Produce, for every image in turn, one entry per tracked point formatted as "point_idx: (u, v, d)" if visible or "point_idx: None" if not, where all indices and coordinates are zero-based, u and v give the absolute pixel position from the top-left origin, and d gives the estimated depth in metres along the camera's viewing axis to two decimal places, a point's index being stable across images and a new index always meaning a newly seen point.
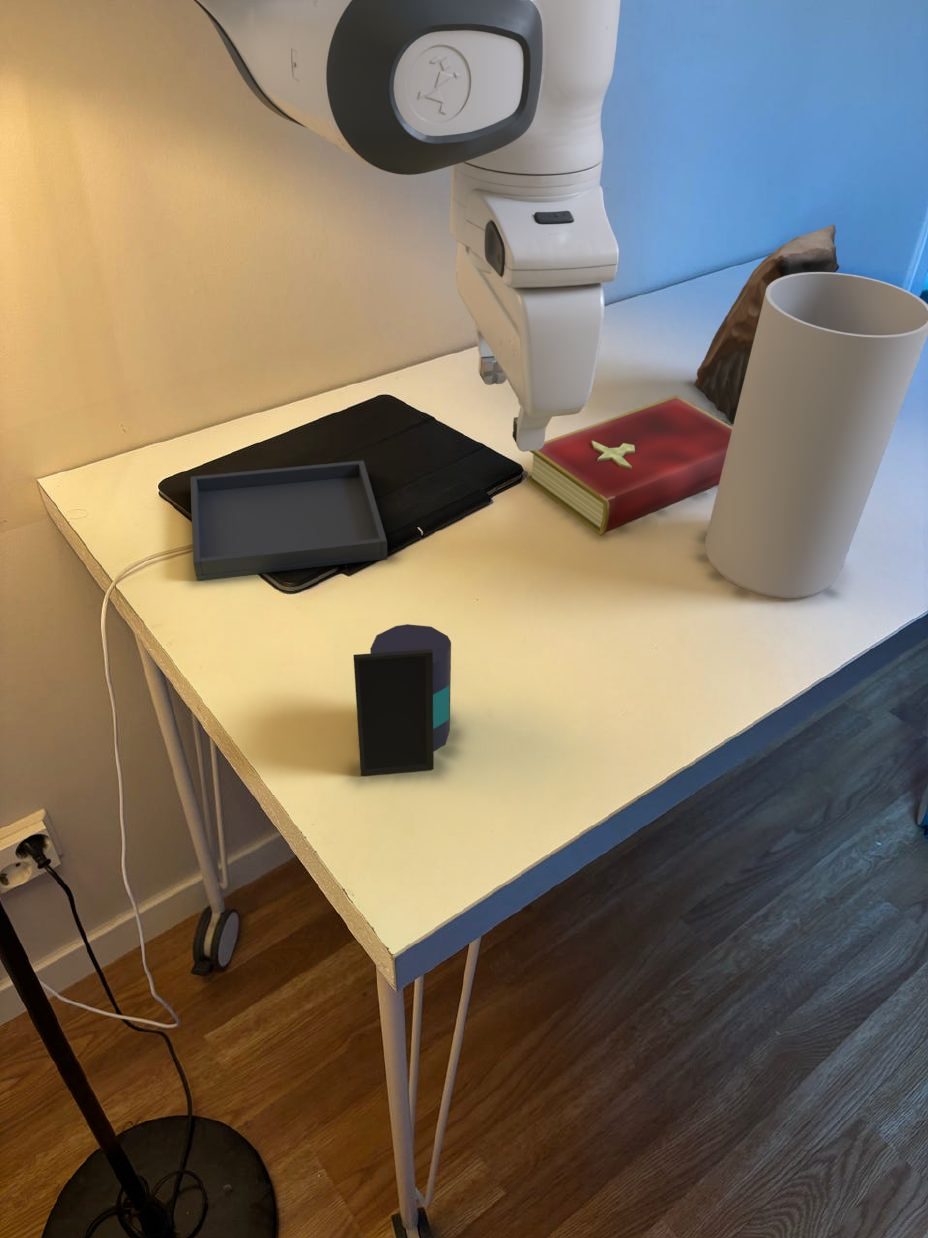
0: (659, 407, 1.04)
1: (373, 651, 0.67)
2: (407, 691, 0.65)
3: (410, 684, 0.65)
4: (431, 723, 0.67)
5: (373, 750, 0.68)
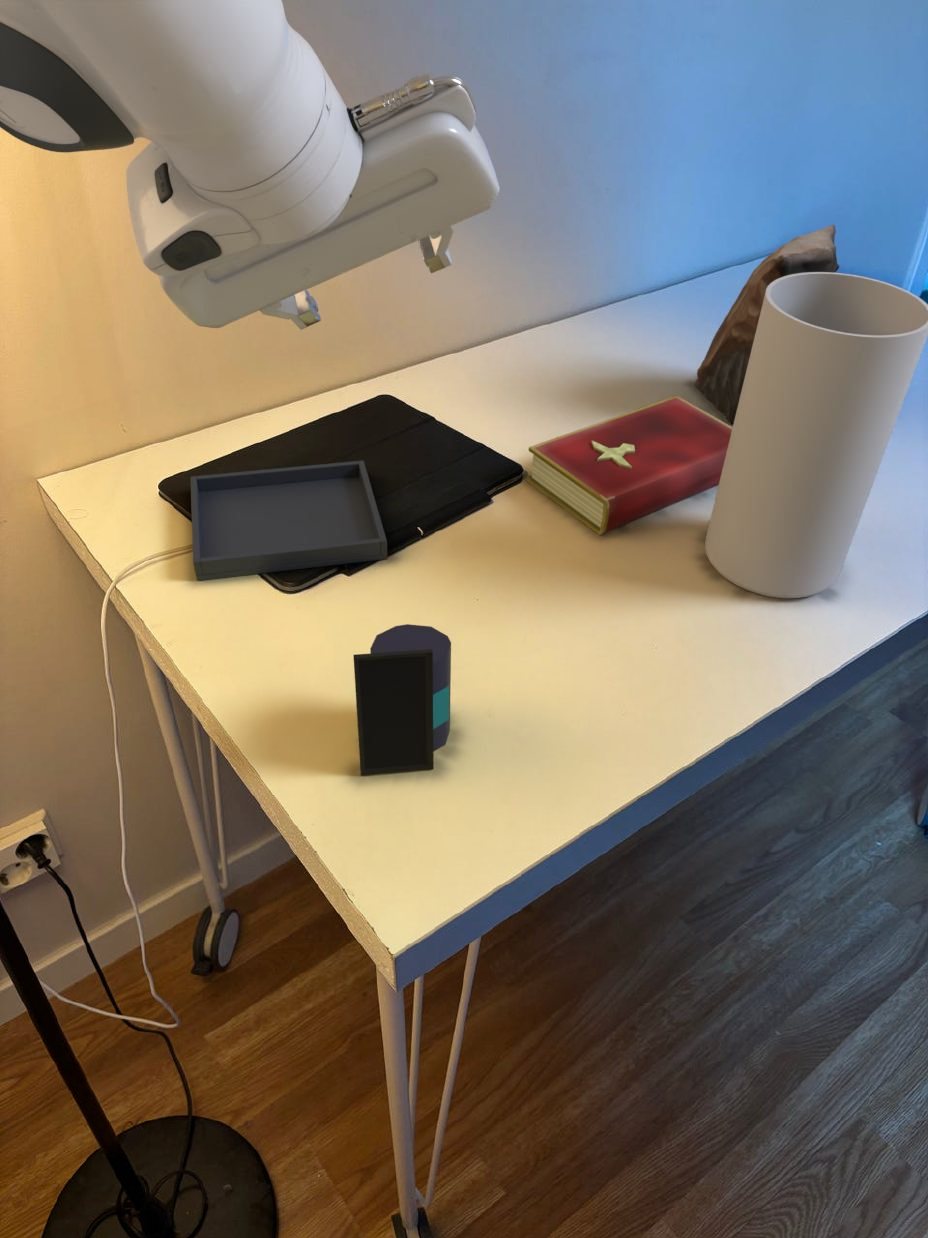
0: (659, 407, 1.04)
1: (373, 651, 0.67)
2: (407, 691, 0.65)
3: (410, 684, 0.65)
4: (431, 723, 0.67)
5: (373, 750, 0.68)
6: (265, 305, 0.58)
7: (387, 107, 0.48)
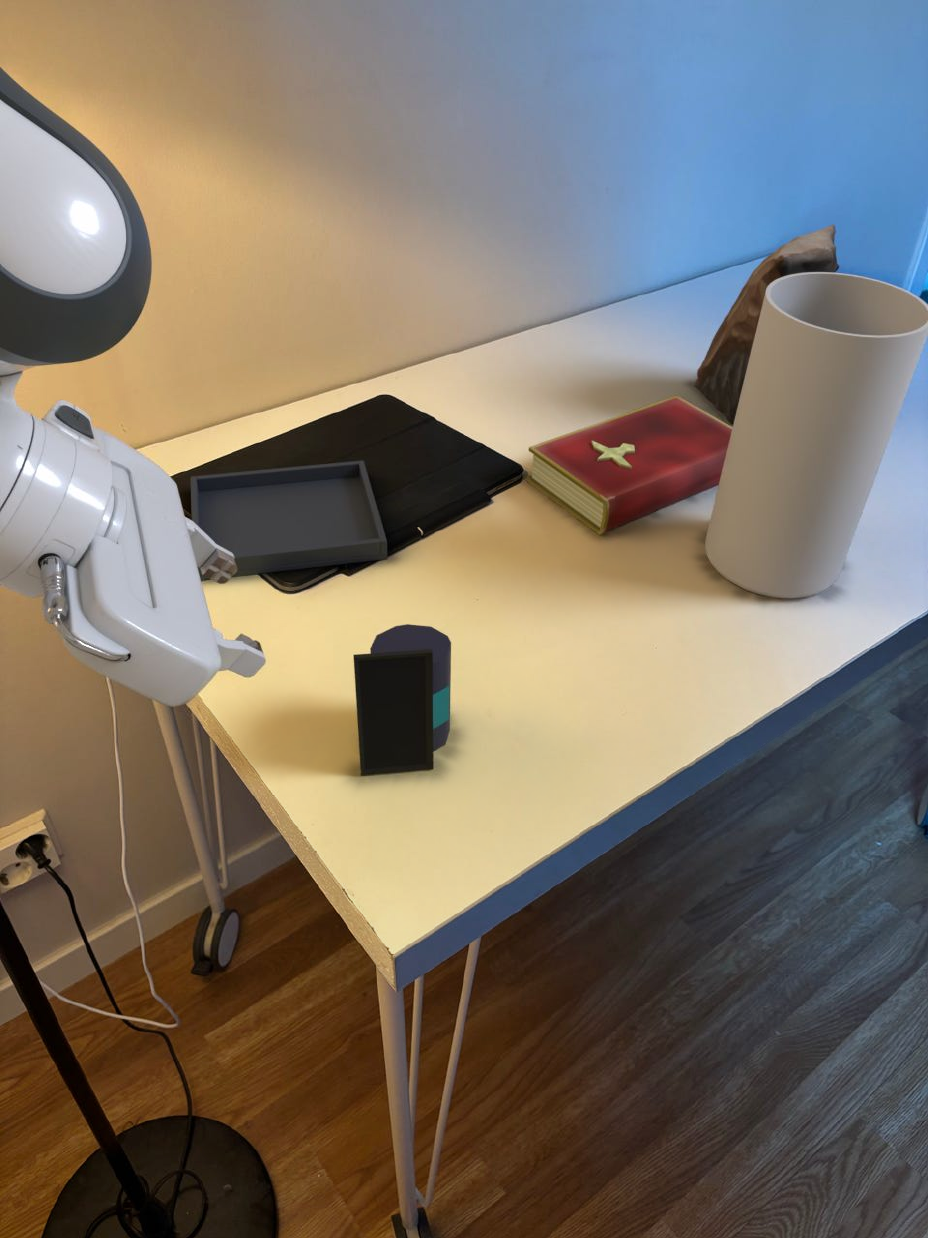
0: (659, 407, 1.04)
1: (373, 651, 0.67)
2: (407, 691, 0.65)
3: (410, 684, 0.65)
4: (431, 723, 0.67)
5: (373, 750, 0.68)
6: None
7: None
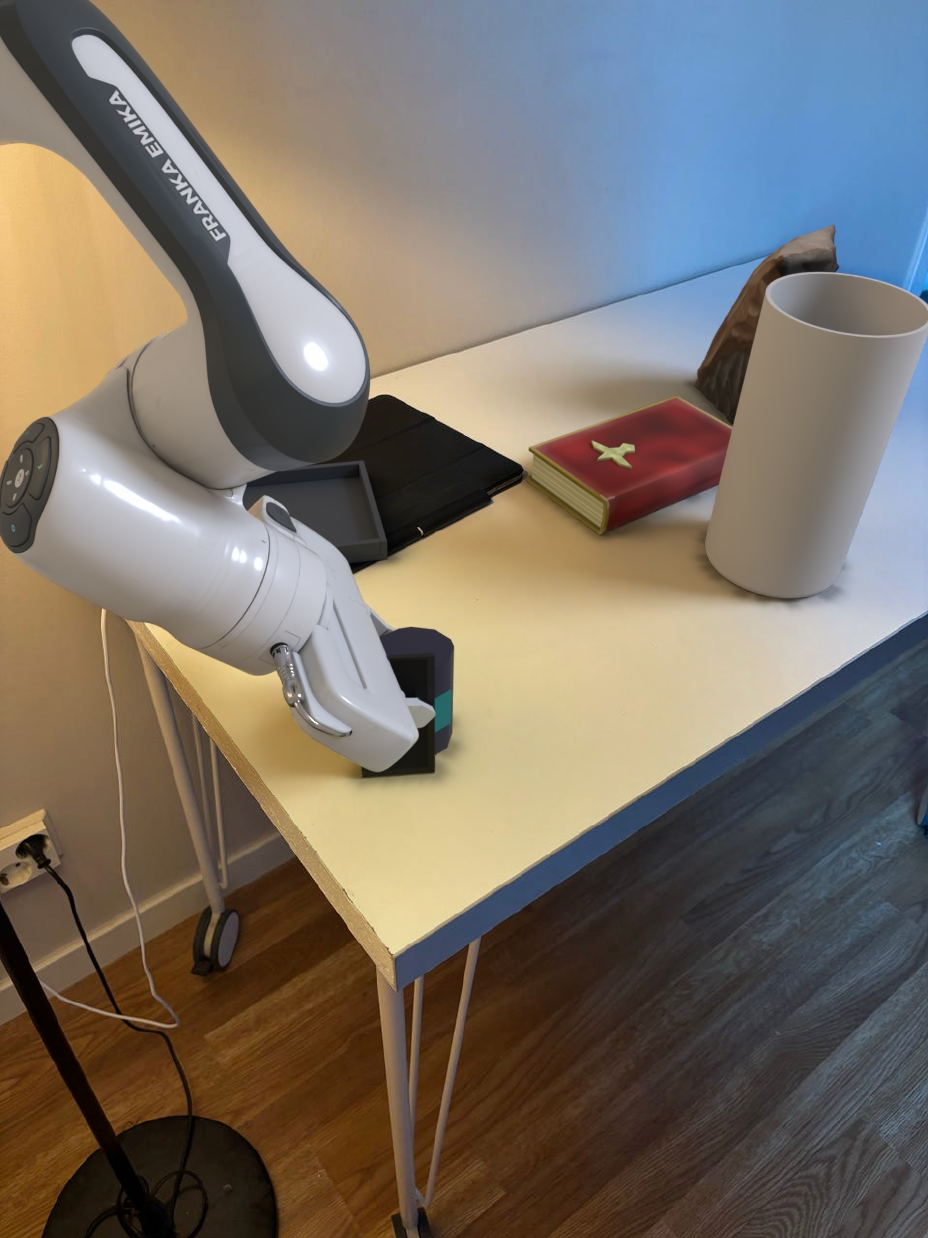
0: (659, 407, 1.04)
1: None
2: (409, 695, 0.65)
3: (412, 688, 0.65)
4: (433, 726, 0.67)
5: None
6: None
7: (279, 676, 0.55)
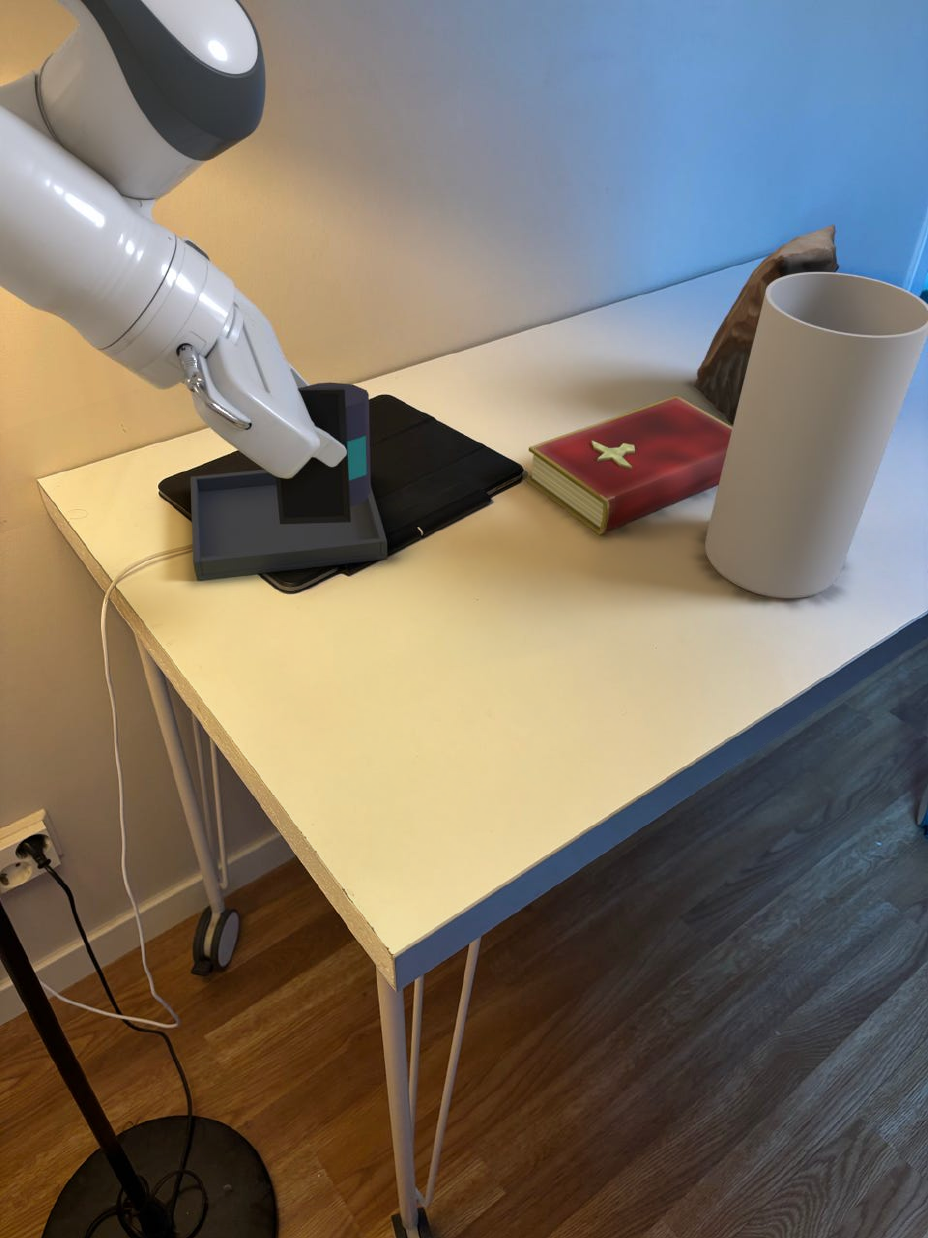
0: (659, 407, 1.04)
1: None
2: None
3: (325, 425, 0.68)
4: (346, 470, 0.69)
5: (291, 497, 0.70)
6: None
7: (182, 369, 0.58)
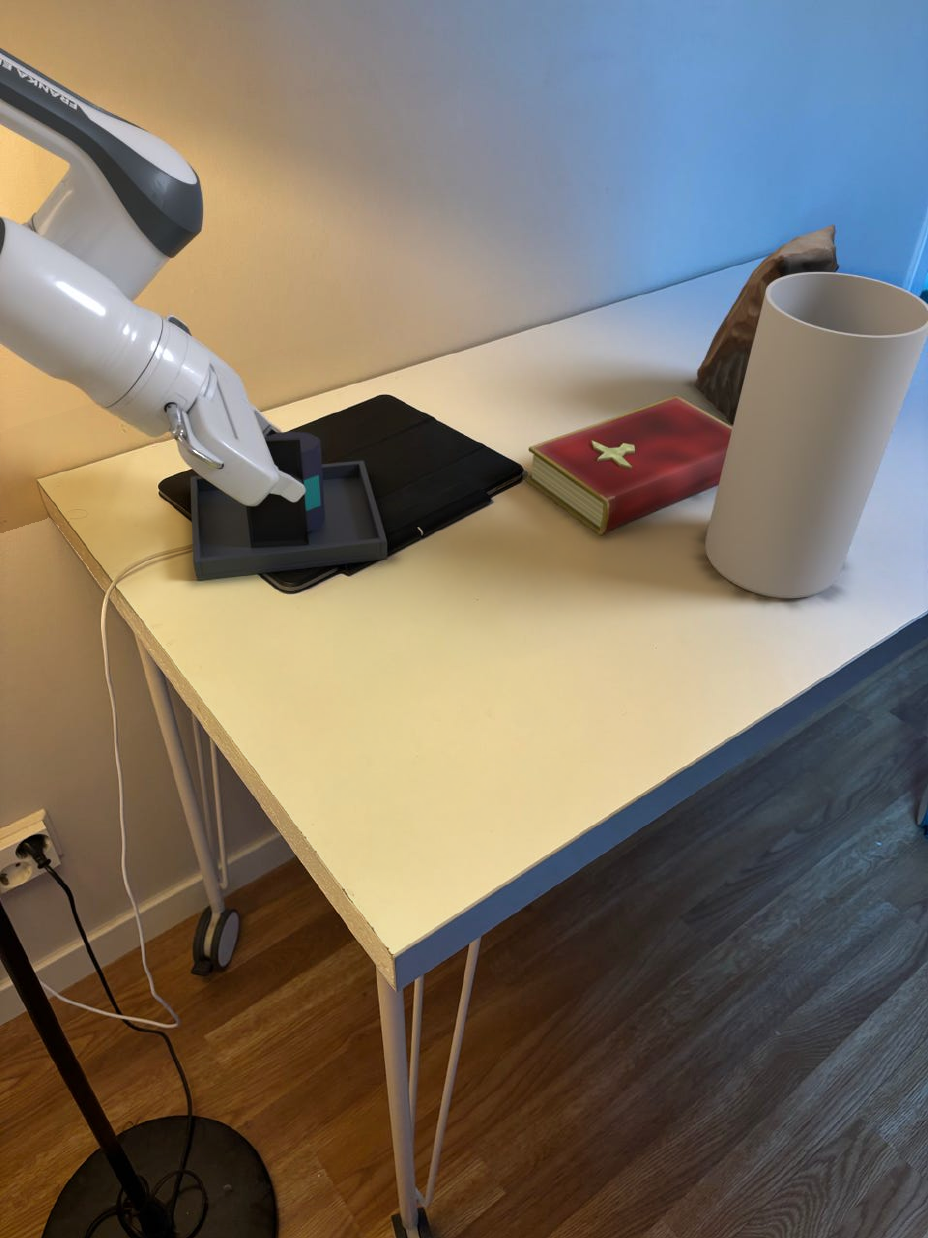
0: (659, 407, 1.04)
1: None
2: None
3: (285, 468, 0.84)
4: (303, 502, 0.86)
5: (259, 525, 0.87)
6: None
7: (169, 423, 0.74)
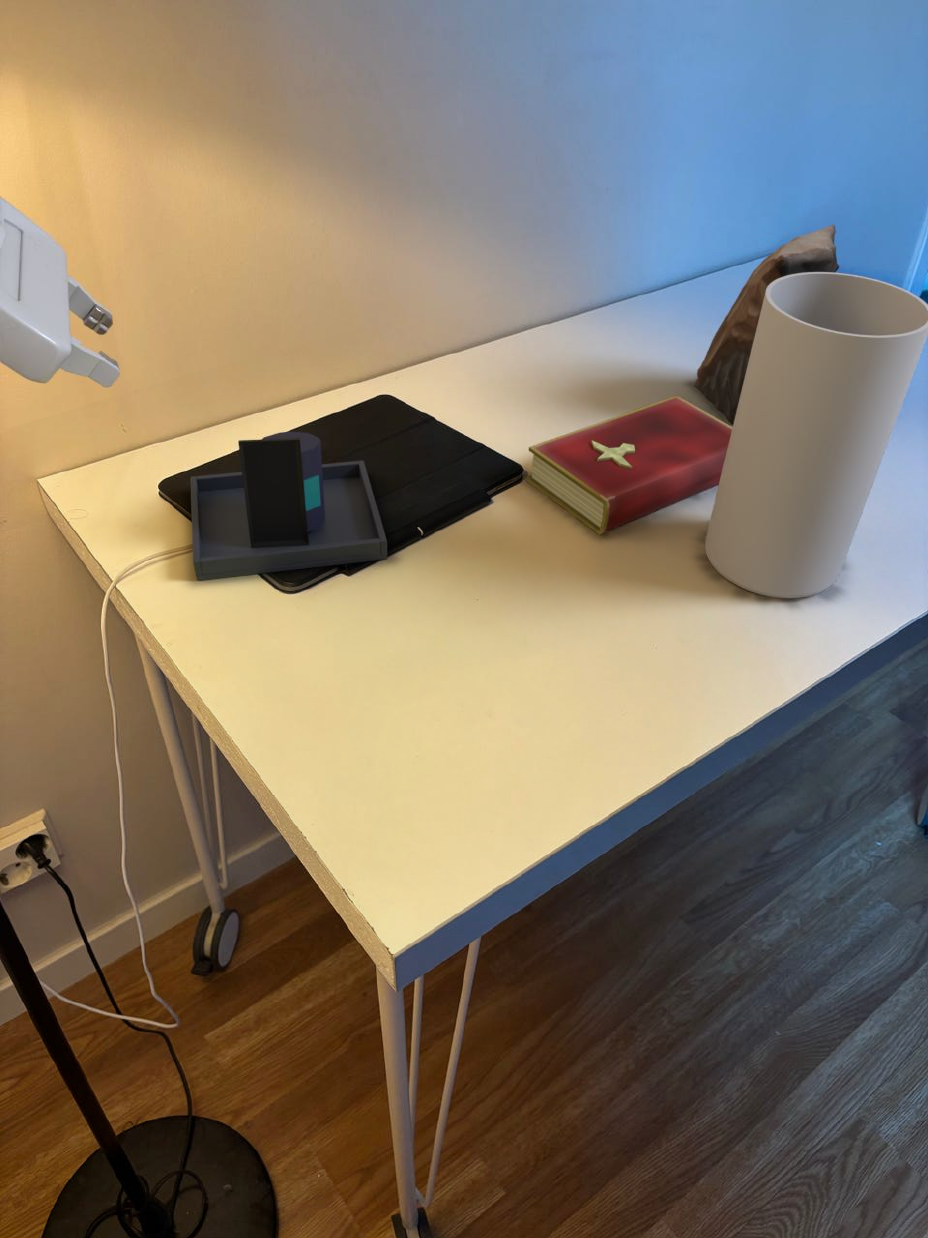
0: (659, 407, 1.04)
1: None
2: (282, 474, 0.85)
3: (285, 468, 0.84)
4: (303, 502, 0.86)
5: (259, 525, 0.87)
6: None
7: None
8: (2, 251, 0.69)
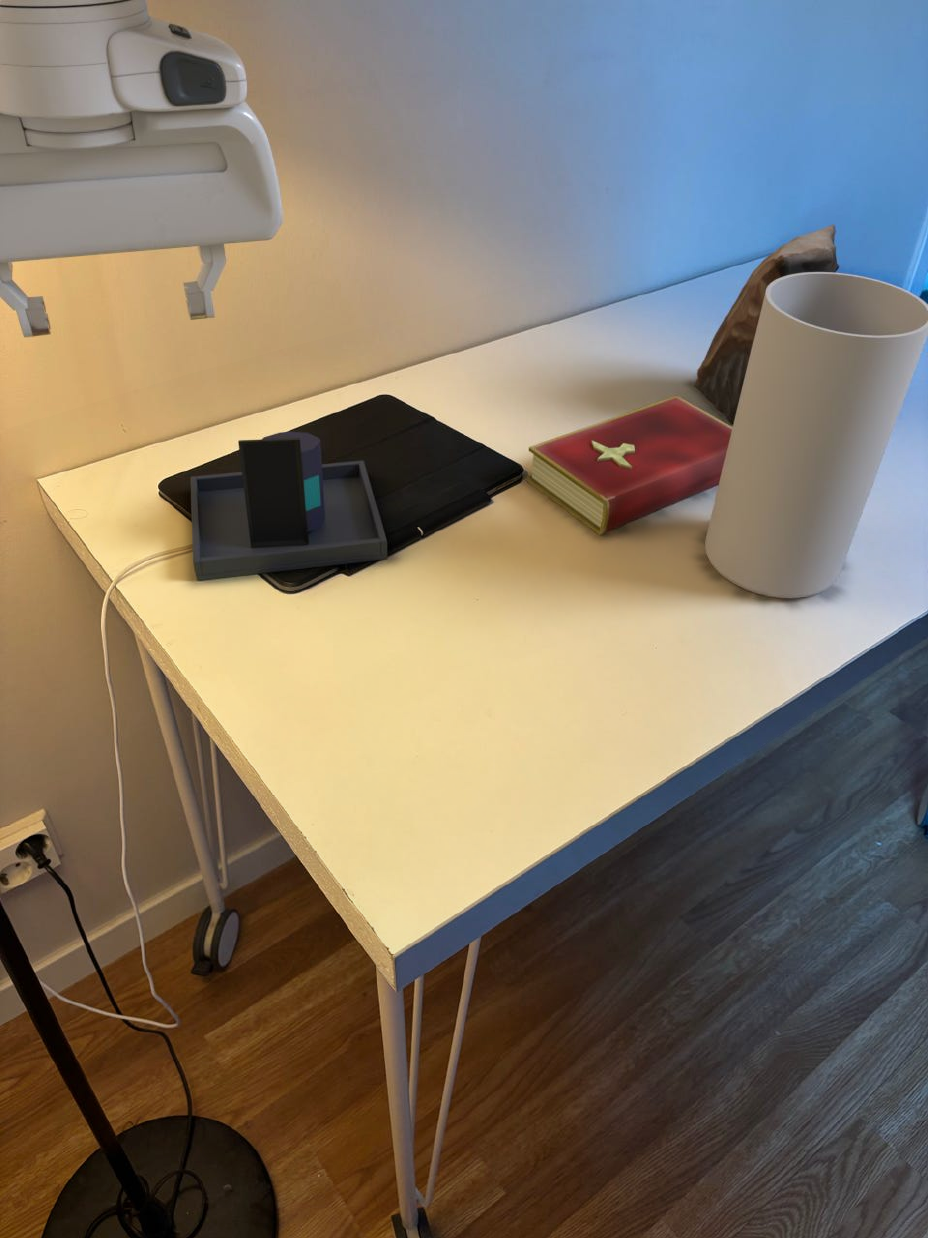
0: (659, 407, 1.04)
1: None
2: (282, 474, 0.85)
3: (285, 468, 0.84)
4: (303, 502, 0.86)
5: (259, 525, 0.87)
6: None
7: None
8: (94, 151, 0.50)
